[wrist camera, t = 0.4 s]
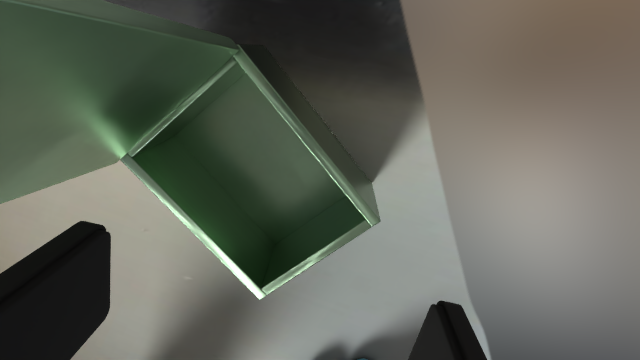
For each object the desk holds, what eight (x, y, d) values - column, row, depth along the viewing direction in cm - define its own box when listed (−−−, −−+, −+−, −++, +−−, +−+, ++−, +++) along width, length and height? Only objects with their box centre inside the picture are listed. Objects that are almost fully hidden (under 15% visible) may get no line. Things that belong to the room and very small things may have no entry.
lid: (-72, -19, 5) (-116, -67, 5) (-305, 313, 8) (-337, 287, 8) (240, 49, 19) (230, 37, 19) (116, 163, 21) (106, 152, 21)
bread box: (372, 183, 29) (381, 221, 22) (275, 250, 31) (259, 300, 25) (263, 45, 25) (237, 43, 19) (166, 132, 28) (115, 155, 22)
